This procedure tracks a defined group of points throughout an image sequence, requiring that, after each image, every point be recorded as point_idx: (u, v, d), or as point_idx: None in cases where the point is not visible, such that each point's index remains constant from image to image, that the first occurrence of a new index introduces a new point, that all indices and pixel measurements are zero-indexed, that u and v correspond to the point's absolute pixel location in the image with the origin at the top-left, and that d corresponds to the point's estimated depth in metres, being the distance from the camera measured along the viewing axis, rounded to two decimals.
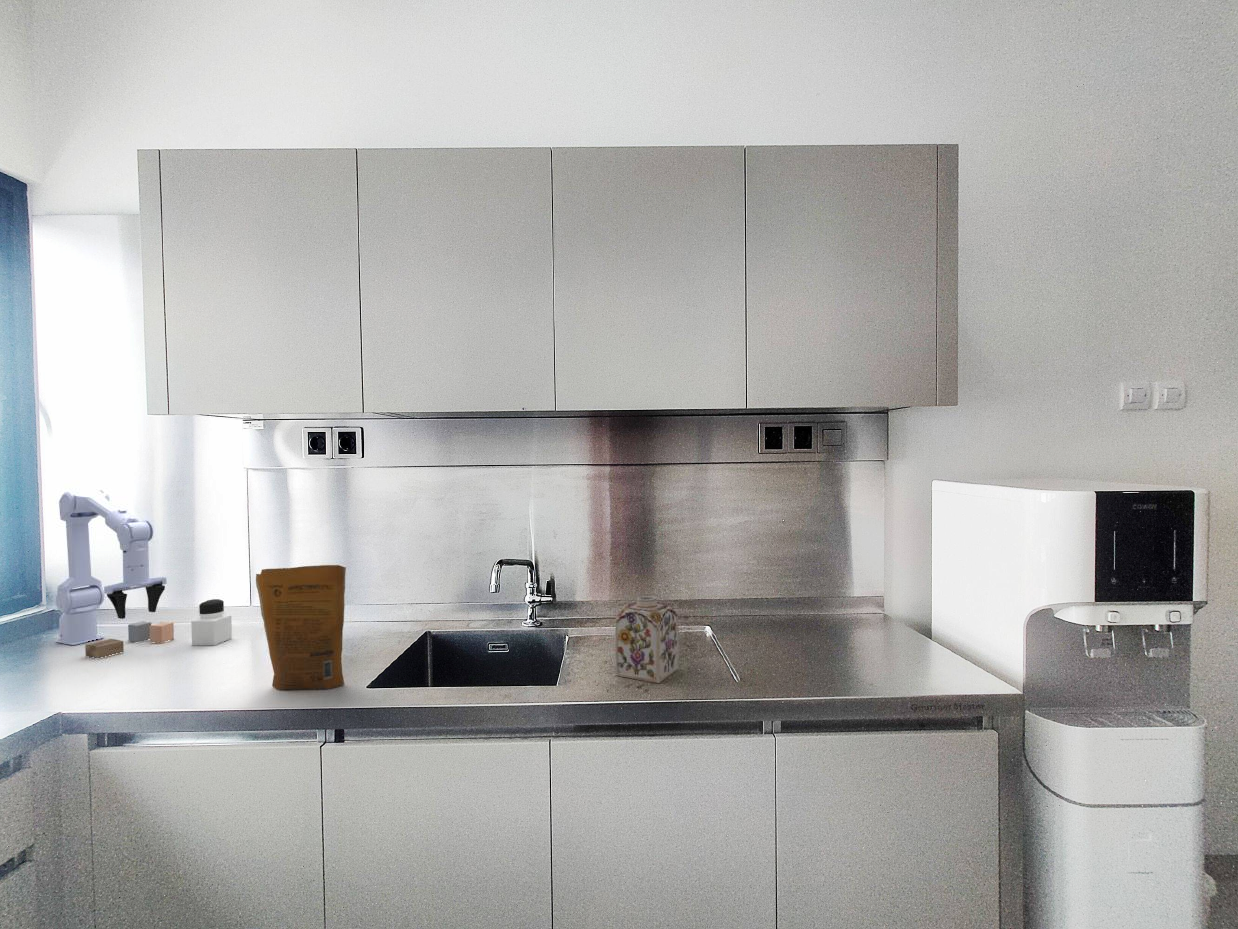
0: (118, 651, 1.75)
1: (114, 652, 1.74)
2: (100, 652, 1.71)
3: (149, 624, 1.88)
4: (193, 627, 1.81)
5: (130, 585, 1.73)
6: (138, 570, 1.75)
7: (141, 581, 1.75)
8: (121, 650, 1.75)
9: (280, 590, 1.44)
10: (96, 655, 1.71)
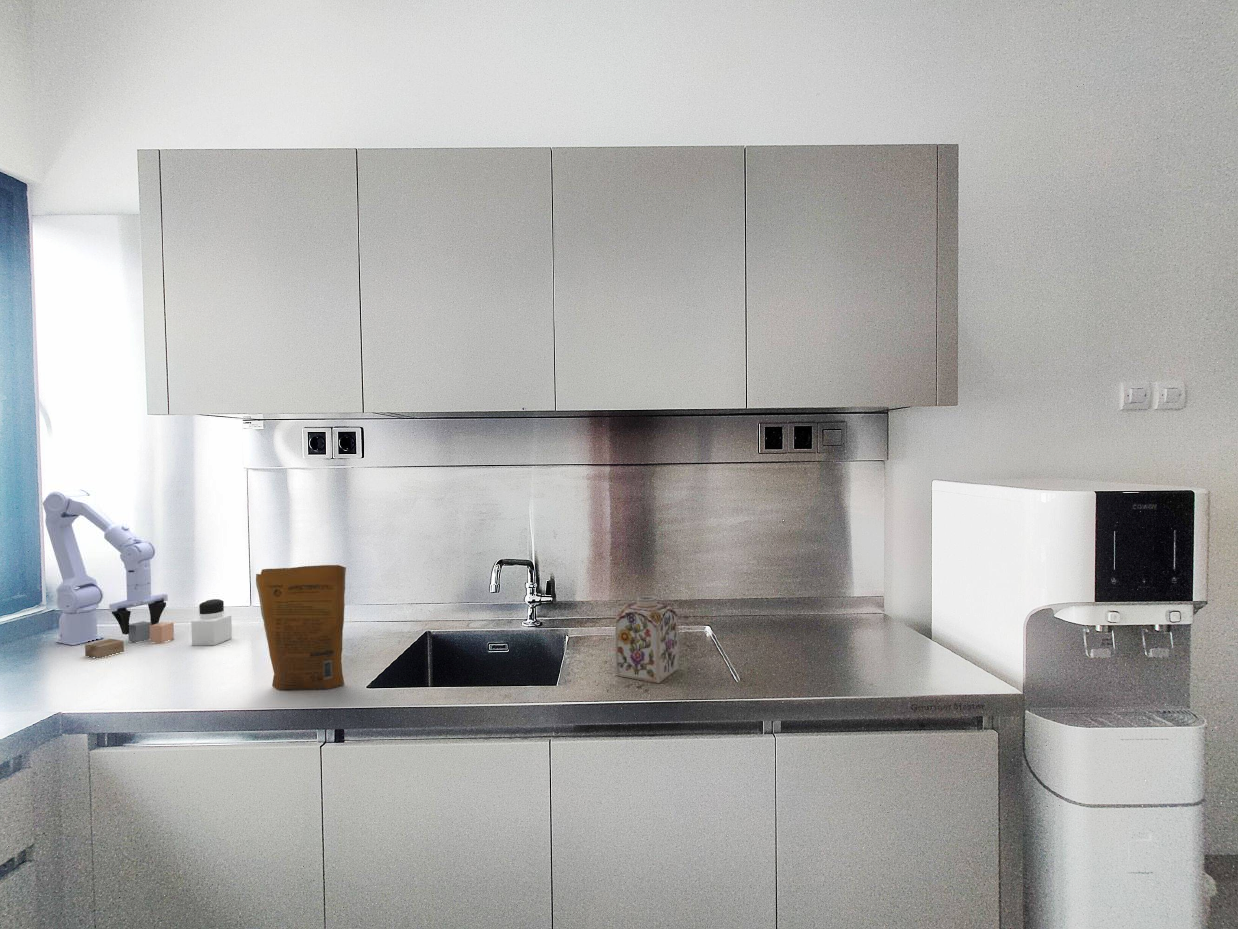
0: (119, 651, 1.75)
1: (114, 652, 1.74)
2: (101, 652, 1.71)
3: (149, 624, 1.88)
4: (193, 627, 1.81)
5: (133, 603, 1.84)
6: (141, 588, 1.86)
7: (144, 599, 1.86)
8: (121, 650, 1.75)
9: (280, 590, 1.44)
10: (96, 655, 1.71)
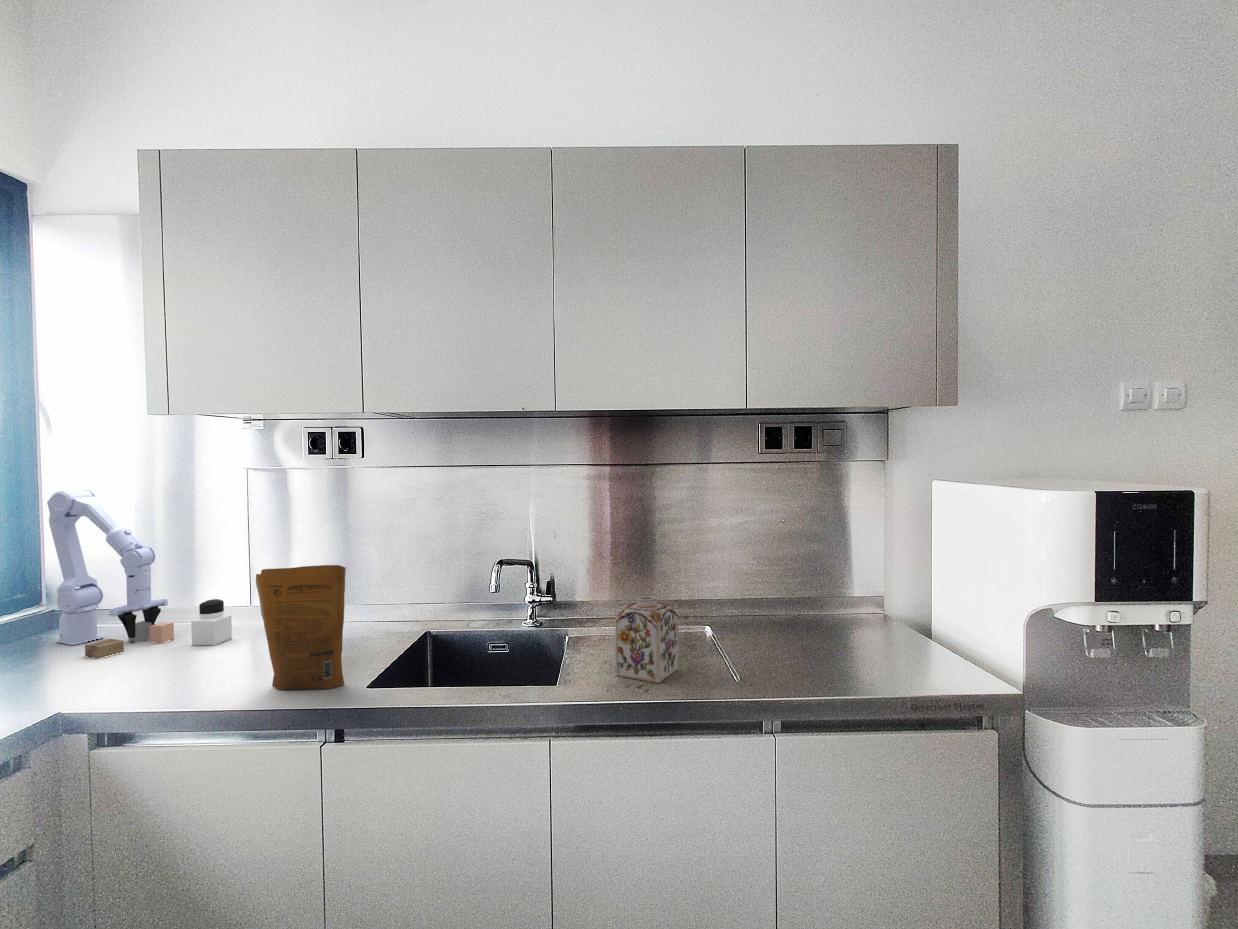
0: (119, 651, 1.75)
1: (115, 652, 1.74)
2: (101, 652, 1.71)
3: (149, 624, 1.88)
4: (193, 627, 1.81)
5: (133, 608, 1.84)
6: (141, 593, 1.86)
7: (144, 604, 1.86)
8: (121, 650, 1.76)
9: (280, 590, 1.44)
10: (97, 655, 1.71)
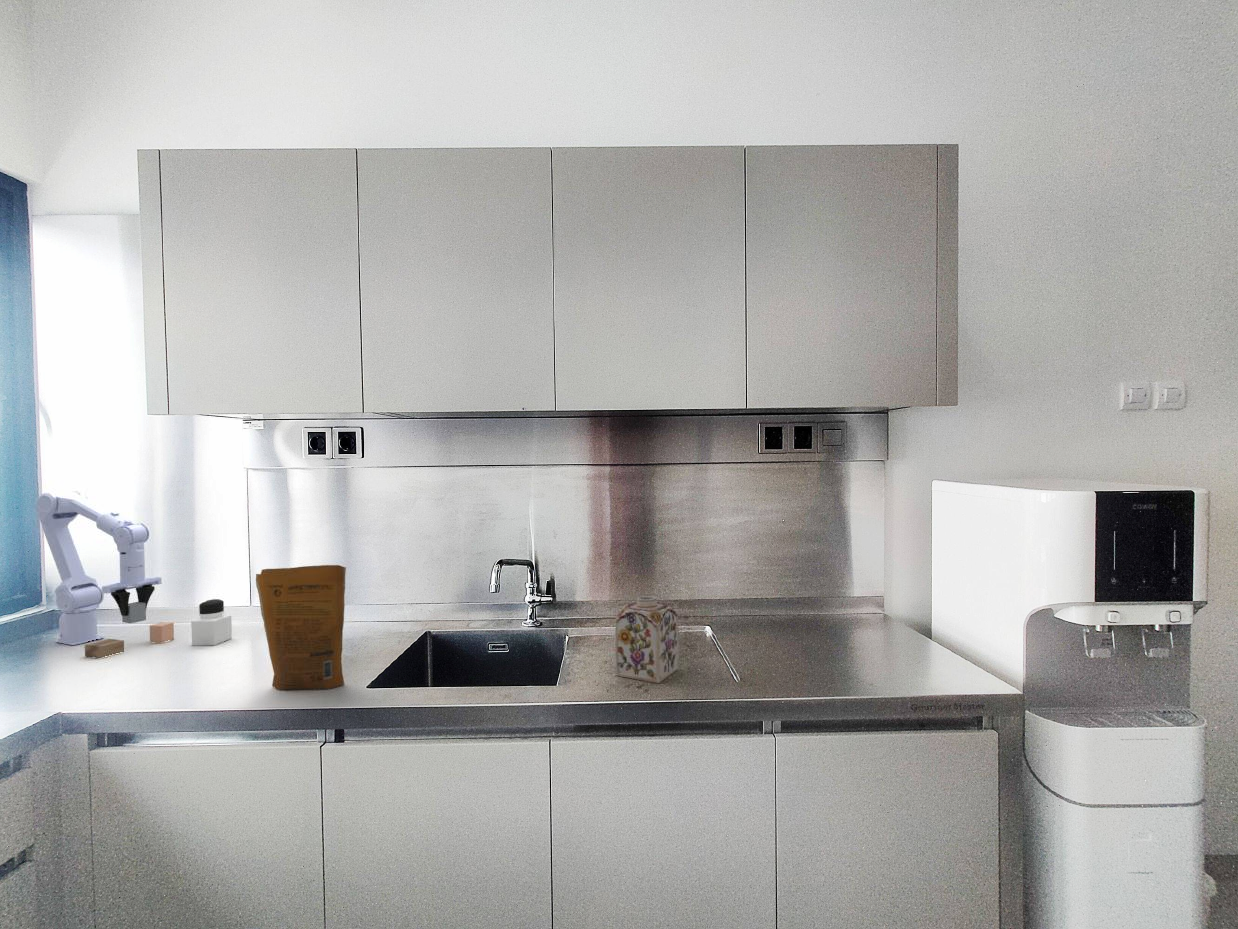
0: (119, 651, 1.75)
1: (115, 652, 1.74)
2: (102, 652, 1.71)
3: (143, 604, 1.86)
4: (193, 627, 1.81)
5: (127, 585, 1.82)
6: (134, 571, 1.83)
7: (137, 581, 1.84)
8: (121, 650, 1.76)
9: (280, 590, 1.44)
10: (97, 654, 1.71)
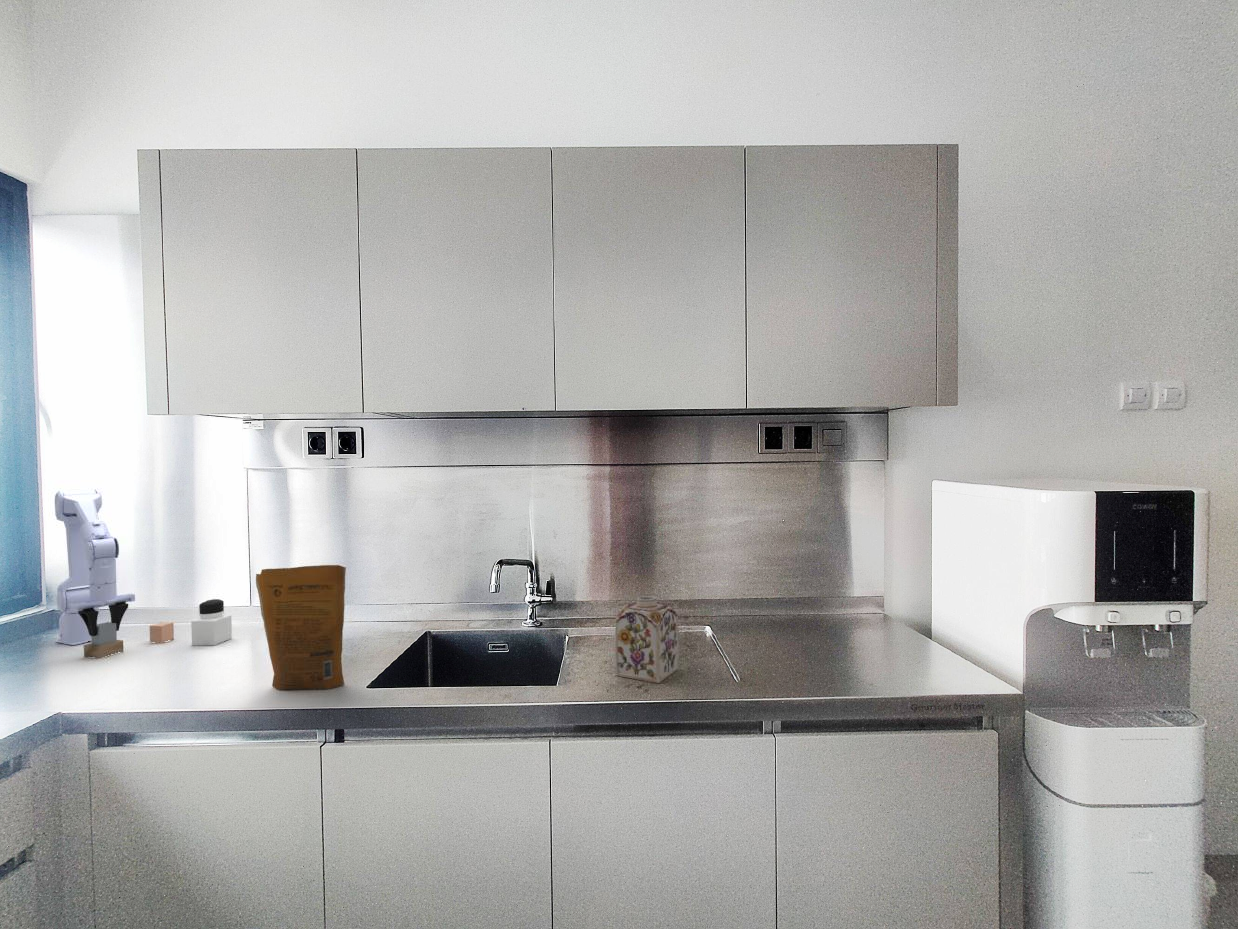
0: (119, 651, 1.75)
1: (115, 652, 1.74)
2: (102, 652, 1.71)
3: (114, 625, 1.75)
4: (193, 627, 1.81)
5: (96, 603, 1.71)
6: (105, 588, 1.72)
7: (108, 599, 1.73)
8: (121, 650, 1.76)
9: (280, 590, 1.44)
10: (97, 655, 1.71)
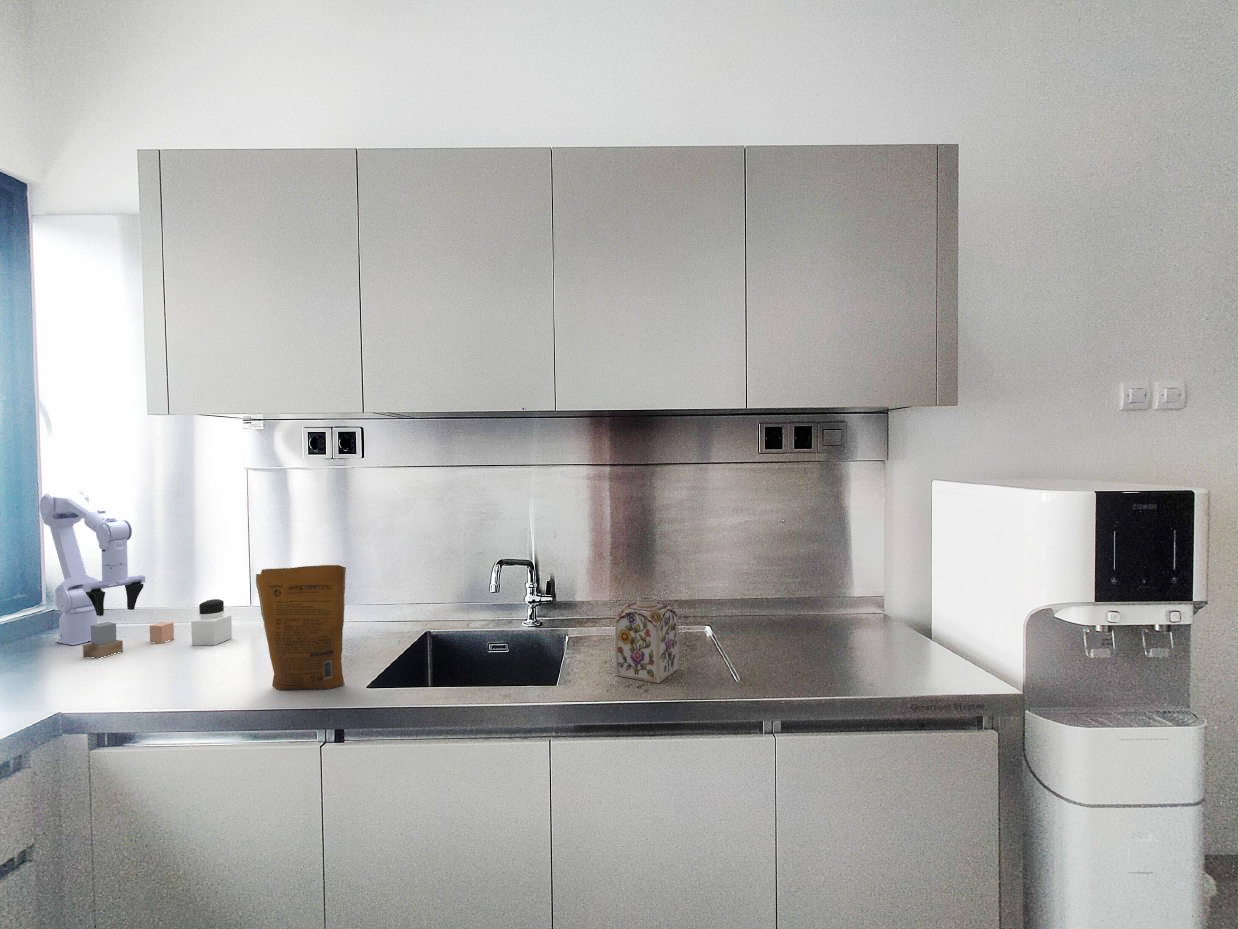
0: (118, 651, 1.75)
1: (114, 652, 1.74)
2: (101, 652, 1.71)
3: (113, 625, 1.75)
4: (193, 627, 1.81)
5: (108, 583, 1.78)
6: (116, 569, 1.79)
7: (119, 579, 1.80)
8: (120, 650, 1.76)
9: (280, 590, 1.44)
10: (97, 655, 1.71)
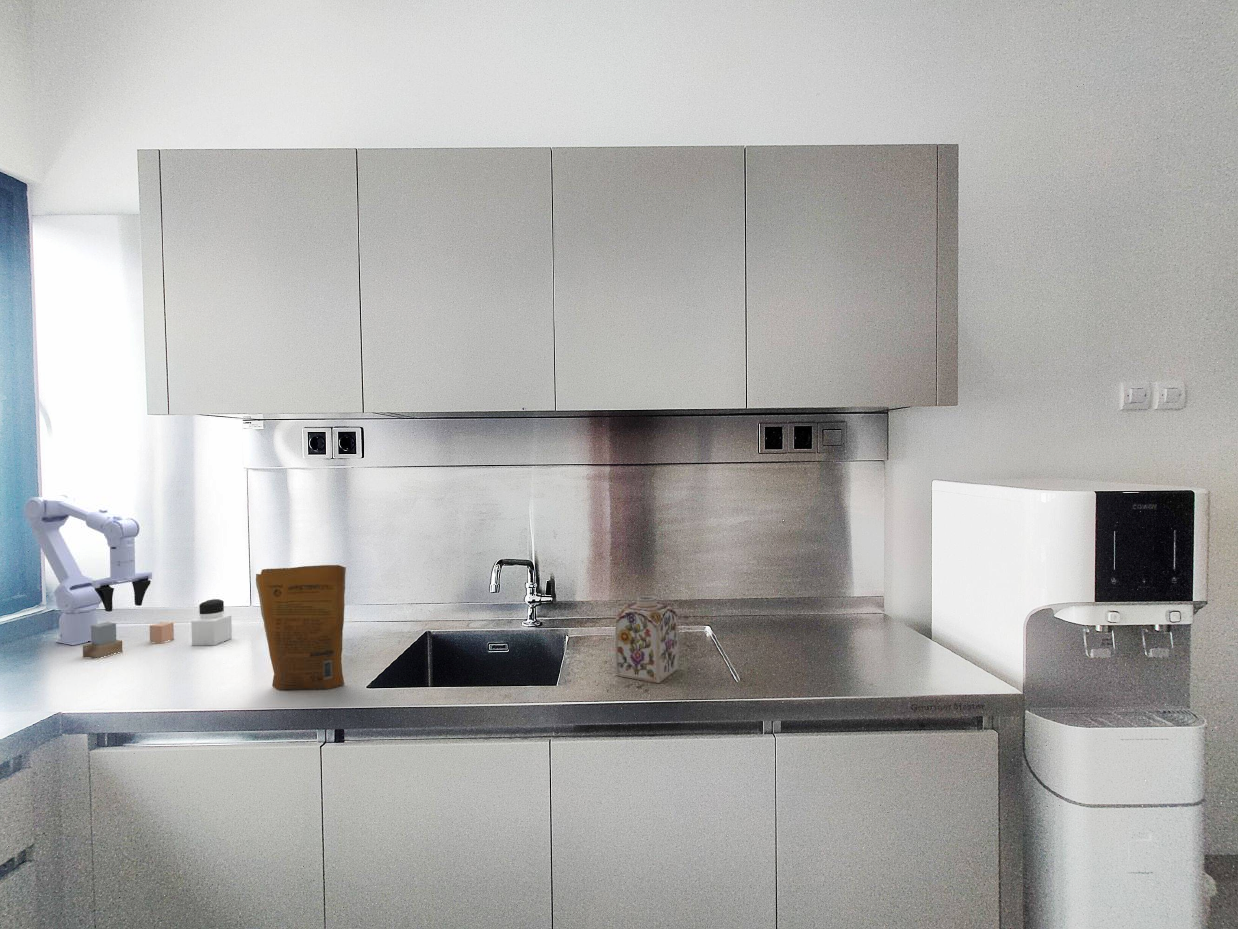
0: (118, 651, 1.75)
1: (114, 652, 1.74)
2: (101, 652, 1.71)
3: (113, 625, 1.75)
4: (193, 627, 1.81)
5: (117, 580, 1.82)
6: (124, 565, 1.84)
7: (127, 576, 1.84)
8: (120, 650, 1.76)
9: (280, 590, 1.44)
10: (96, 655, 1.71)
